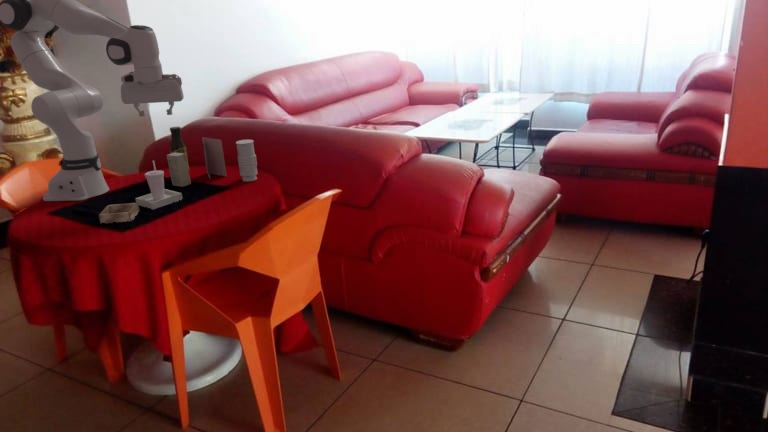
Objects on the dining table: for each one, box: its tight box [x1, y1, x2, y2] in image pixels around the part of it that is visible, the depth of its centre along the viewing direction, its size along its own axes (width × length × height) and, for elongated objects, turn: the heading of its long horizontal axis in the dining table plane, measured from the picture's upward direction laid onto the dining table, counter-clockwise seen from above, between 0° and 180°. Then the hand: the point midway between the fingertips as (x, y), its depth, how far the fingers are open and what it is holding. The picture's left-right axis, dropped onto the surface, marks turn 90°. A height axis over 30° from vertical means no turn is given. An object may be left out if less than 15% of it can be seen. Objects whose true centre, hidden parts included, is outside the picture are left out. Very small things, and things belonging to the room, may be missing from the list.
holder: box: [98, 202, 140, 225], centre depth 198 cm, size 10×10×3 cm
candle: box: [235, 139, 259, 182], centre depth 231 cm, size 7×7×15 cm
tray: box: [135, 188, 184, 210], centre depth 212 cm, size 12×10×2 cm
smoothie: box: [144, 160, 165, 201], centre depth 209 cm, size 6×6×14 cm
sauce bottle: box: [169, 126, 190, 171], centre depth 239 cm, size 7×6×20 cm
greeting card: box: [201, 136, 227, 179], centre depth 238 cm, size 11×7×15 cm, turn 21°
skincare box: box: [166, 153, 192, 188], centre depth 229 cm, size 6×4×12 cm
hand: (156, 115), depth 209 cm, fingers open, 8 cm apart
